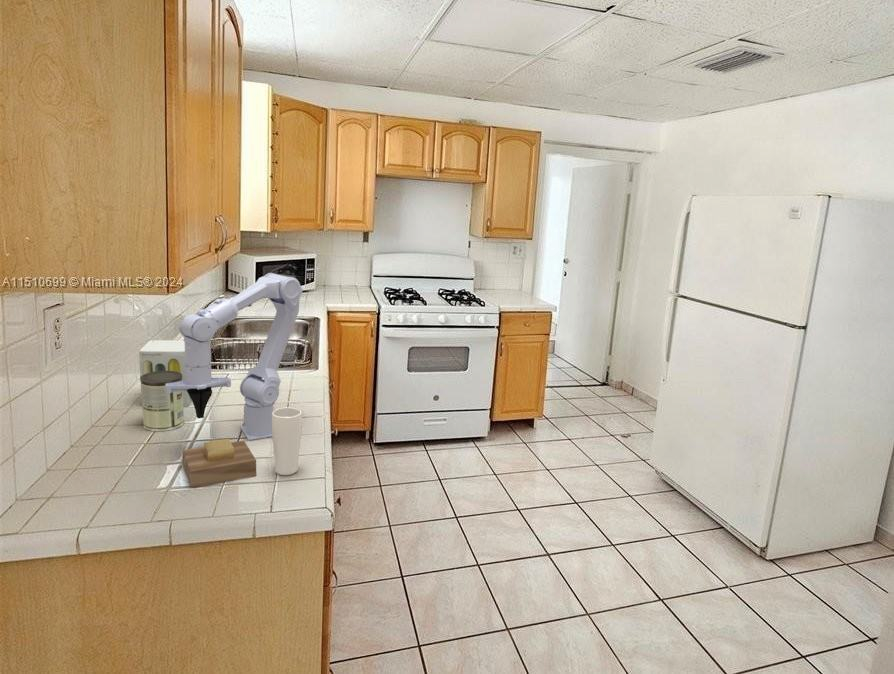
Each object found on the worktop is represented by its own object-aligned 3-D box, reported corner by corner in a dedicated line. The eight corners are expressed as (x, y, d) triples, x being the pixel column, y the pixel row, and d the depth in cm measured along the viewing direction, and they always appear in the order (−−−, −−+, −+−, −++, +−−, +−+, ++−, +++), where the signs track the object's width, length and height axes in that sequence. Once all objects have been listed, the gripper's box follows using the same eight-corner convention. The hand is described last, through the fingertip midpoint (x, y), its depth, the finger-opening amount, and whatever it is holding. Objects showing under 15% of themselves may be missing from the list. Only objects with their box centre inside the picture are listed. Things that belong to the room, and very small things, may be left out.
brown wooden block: (183, 465, 134) (182, 450, 133) (243, 455, 142) (243, 440, 141) (191, 488, 125) (190, 471, 124) (256, 475, 132) (256, 459, 131)
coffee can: (145, 418, 159) (142, 371, 156) (185, 416, 163) (183, 369, 160) (140, 433, 150) (137, 382, 147) (183, 430, 154) (181, 380, 151)
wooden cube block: (204, 465, 134) (203, 442, 133) (229, 461, 137) (228, 438, 136) (208, 476, 129) (207, 451, 128) (234, 471, 132) (233, 447, 131)
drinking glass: (271, 478, 131) (271, 418, 128) (271, 465, 138) (271, 407, 134) (301, 476, 133) (302, 417, 130) (300, 463, 139) (301, 406, 136)
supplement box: (140, 407, 167) (137, 350, 163) (152, 392, 180) (149, 339, 176) (189, 406, 170) (187, 350, 166) (197, 392, 183) (195, 340, 179)
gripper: (167, 371, 130) (169, 427, 133) (233, 365, 137) (234, 418, 140) (163, 363, 135) (166, 416, 138) (227, 358, 143) (228, 408, 146)
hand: (200, 416), depth 140 cm, fingers closed
